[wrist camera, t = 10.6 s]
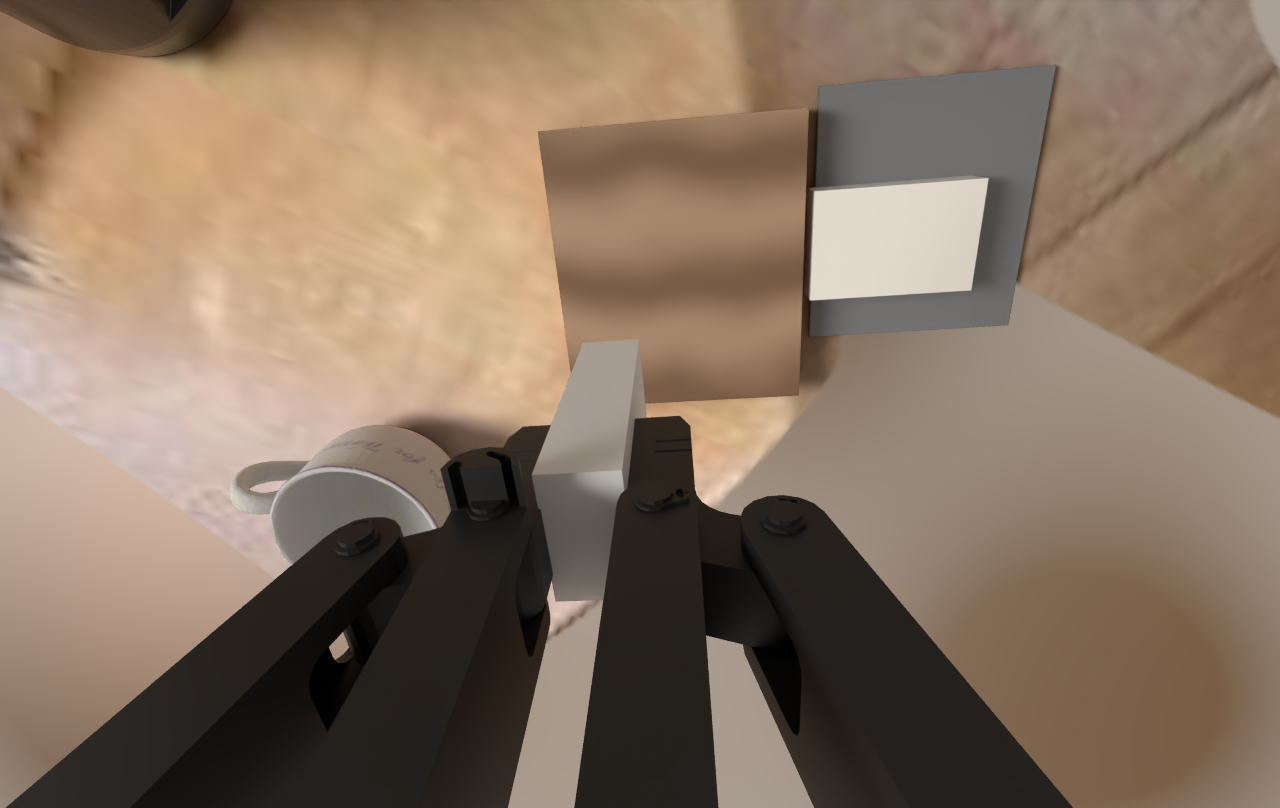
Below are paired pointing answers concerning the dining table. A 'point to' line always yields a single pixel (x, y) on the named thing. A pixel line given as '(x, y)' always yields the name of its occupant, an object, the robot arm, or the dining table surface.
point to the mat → (937, 148)
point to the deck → (685, 247)
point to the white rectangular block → (893, 237)
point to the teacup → (349, 487)
